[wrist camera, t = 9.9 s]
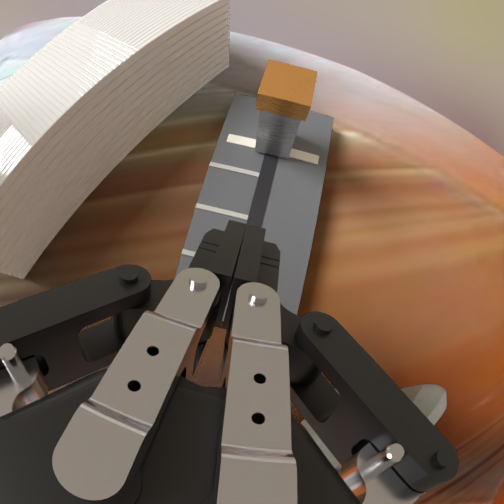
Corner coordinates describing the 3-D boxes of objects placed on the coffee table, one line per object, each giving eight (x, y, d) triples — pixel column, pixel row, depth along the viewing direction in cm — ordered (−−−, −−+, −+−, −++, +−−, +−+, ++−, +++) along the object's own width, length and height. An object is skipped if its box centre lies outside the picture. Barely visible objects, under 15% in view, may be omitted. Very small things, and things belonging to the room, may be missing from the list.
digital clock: (282, 514, 23) (303, 581, 12) (228, 453, 24) (226, 518, 13) (418, 418, 25) (486, 446, 15) (378, 351, 26) (447, 361, 16)
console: (172, 307, 26) (167, 305, 24) (234, 105, 31) (235, 92, 29) (287, 336, 26) (291, 337, 24) (328, 128, 31) (333, 116, 29)
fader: (250, 152, 27) (257, 93, 19) (259, 121, 28) (268, 59, 20) (290, 162, 27) (310, 106, 19) (297, 130, 28) (317, 71, 20)
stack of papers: (168, 36, 33) (157, -28, 23) (229, 67, 32) (229, -6, 22) (-15, 218, 27) (-75, 185, 17) (25, 279, 26) (-47, 258, 16)
